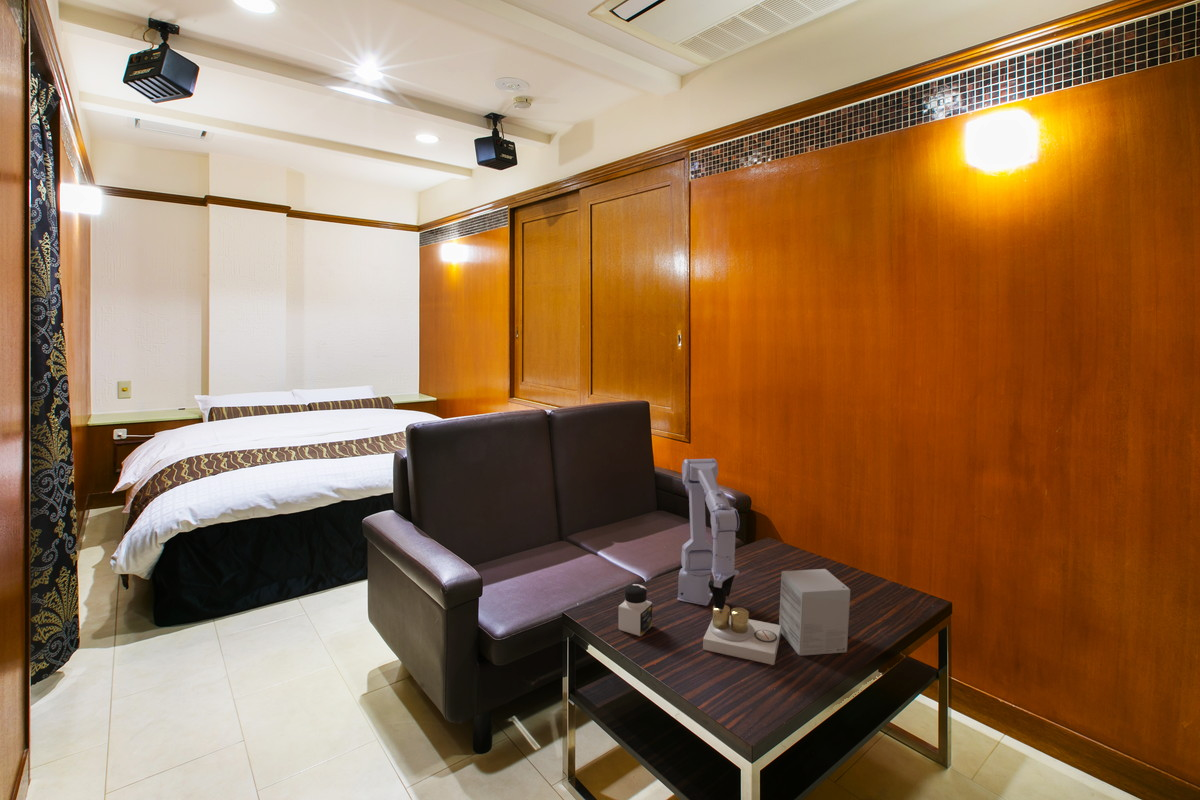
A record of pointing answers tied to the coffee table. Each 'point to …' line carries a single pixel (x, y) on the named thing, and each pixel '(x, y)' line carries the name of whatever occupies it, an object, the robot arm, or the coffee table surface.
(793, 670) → the coffee table surface
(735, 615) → the cylinder
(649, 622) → the medicine bottle
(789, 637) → the supplement box
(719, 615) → the cylinder
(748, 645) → the scale
